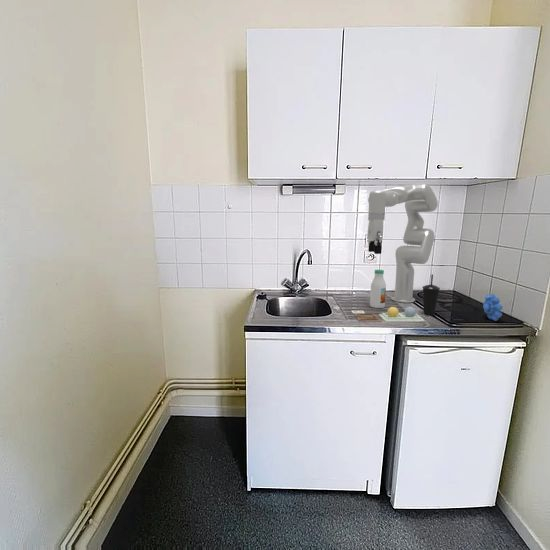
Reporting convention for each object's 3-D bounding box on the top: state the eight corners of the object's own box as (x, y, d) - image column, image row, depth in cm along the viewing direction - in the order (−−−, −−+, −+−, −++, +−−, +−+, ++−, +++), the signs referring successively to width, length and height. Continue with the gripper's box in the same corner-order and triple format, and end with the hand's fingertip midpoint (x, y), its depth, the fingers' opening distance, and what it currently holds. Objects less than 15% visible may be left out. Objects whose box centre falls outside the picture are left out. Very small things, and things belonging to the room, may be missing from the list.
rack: (378, 314, 150) (378, 312, 150) (415, 314, 149) (415, 311, 149) (385, 321, 140) (385, 318, 140) (425, 321, 140) (425, 318, 139)
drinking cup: (416, 313, 153) (419, 273, 149) (428, 311, 155) (431, 272, 152) (429, 317, 146) (432, 276, 142) (441, 315, 148) (445, 275, 145)
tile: (351, 311, 156) (351, 310, 156) (362, 311, 156) (362, 310, 156) (353, 313, 153) (353, 312, 152) (365, 313, 152) (365, 312, 152)
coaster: (354, 315, 150) (354, 313, 150) (374, 315, 150) (374, 313, 150) (359, 321, 140) (359, 319, 140) (381, 321, 140) (381, 319, 140)
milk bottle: (375, 309, 160) (377, 271, 156) (367, 305, 167) (368, 269, 164) (387, 307, 162) (390, 270, 158) (379, 304, 169) (381, 268, 166)
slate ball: (402, 315, 147) (402, 305, 146) (412, 315, 147) (413, 305, 146) (406, 318, 142) (407, 308, 141) (417, 318, 142) (418, 308, 141)
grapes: (474, 315, 148) (476, 291, 146) (488, 315, 148) (491, 291, 145) (489, 323, 136) (492, 297, 134) (505, 323, 136) (508, 297, 134)
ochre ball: (385, 315, 147) (386, 305, 146) (396, 315, 147) (396, 305, 146) (389, 319, 142) (389, 309, 141) (399, 319, 142) (400, 308, 141)
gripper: (363, 217, 155) (362, 251, 158) (373, 217, 138) (372, 254, 141) (378, 217, 155) (376, 250, 158) (390, 217, 138) (388, 254, 141)
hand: (374, 252), depth 149 cm, fingers open, 9 cm apart
